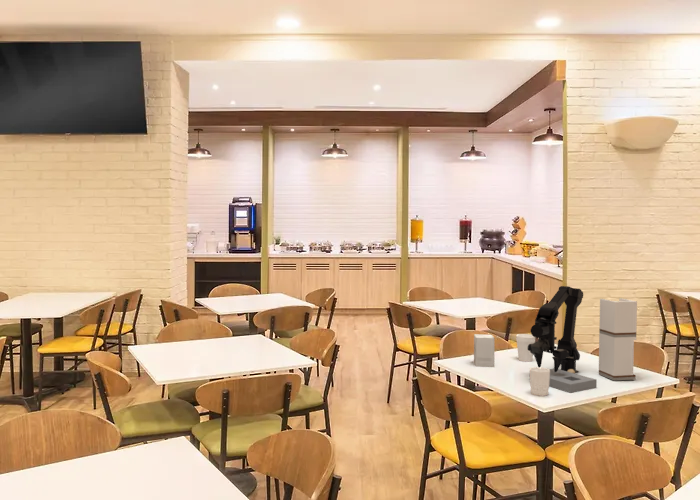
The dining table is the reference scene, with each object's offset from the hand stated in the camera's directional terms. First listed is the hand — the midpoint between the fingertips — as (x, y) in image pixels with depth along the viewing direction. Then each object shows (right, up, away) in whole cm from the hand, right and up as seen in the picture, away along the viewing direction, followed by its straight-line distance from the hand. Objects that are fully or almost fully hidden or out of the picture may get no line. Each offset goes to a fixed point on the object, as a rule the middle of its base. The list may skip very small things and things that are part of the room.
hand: (547, 369), depth 256 cm
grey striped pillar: (+33, -5, +5) cm, 34 cm away
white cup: (-11, -6, -22) cm, 25 cm away
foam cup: (+1, -3, +35) cm, 35 cm away
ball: (+12, -3, +5) cm, 14 cm away
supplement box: (-23, -4, +25) cm, 34 cm away
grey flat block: (+4, -5, -7) cm, 10 cm away
